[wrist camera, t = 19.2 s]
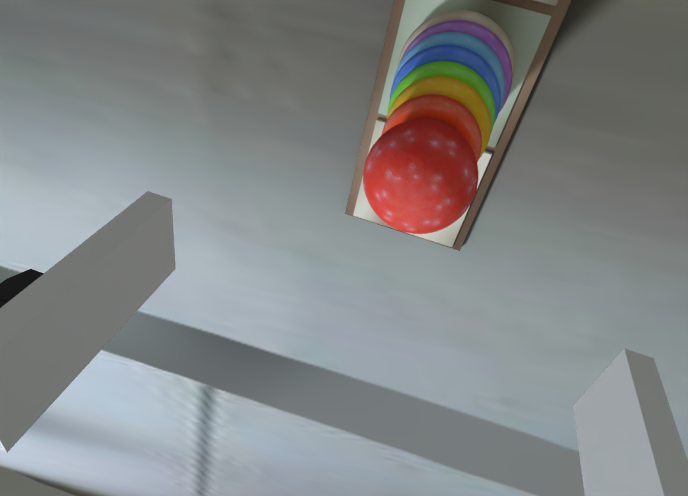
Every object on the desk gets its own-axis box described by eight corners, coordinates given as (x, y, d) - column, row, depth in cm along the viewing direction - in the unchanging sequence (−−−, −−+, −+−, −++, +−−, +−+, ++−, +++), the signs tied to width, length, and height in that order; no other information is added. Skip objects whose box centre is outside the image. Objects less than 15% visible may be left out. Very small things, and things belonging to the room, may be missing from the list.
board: (346, 210, 44) (344, 215, 43) (451, -241, 25) (449, -245, 24) (460, 247, 43) (459, 252, 42) (657, -198, 24) (662, -201, 23)
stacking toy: (386, 29, 33) (290, 125, 18) (504, -11, 30) (501, 68, 15) (415, 133, 37) (354, 282, 22) (522, 108, 33) (533, 263, 19)
